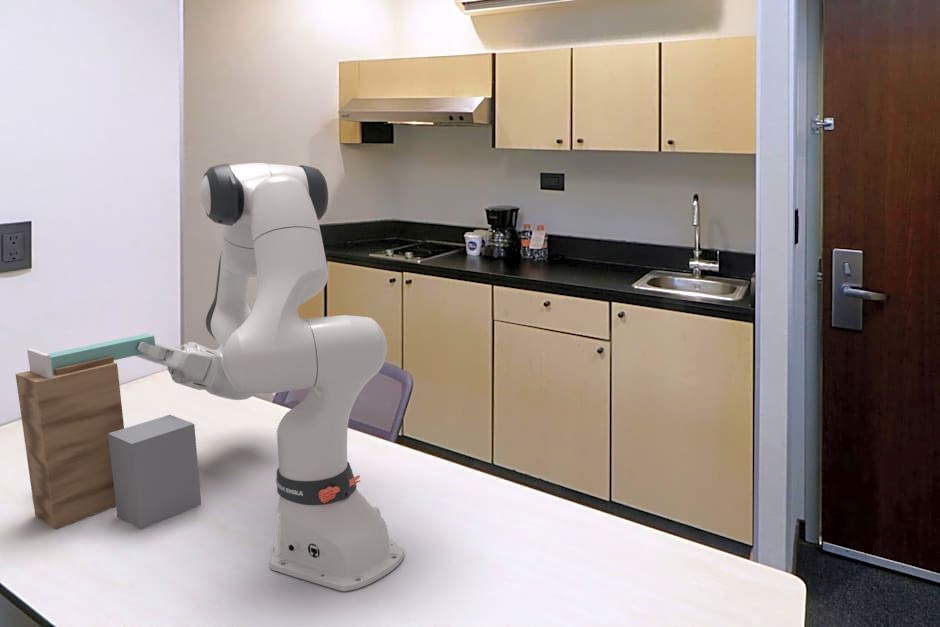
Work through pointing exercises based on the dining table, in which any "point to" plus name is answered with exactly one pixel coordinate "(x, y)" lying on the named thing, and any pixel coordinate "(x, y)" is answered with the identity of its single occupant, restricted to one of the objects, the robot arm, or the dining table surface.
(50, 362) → the scraper
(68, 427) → the upright wood-grain block
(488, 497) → the dining table surface
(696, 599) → the dining table surface
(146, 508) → the upright gray brick
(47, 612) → the dining table surface
